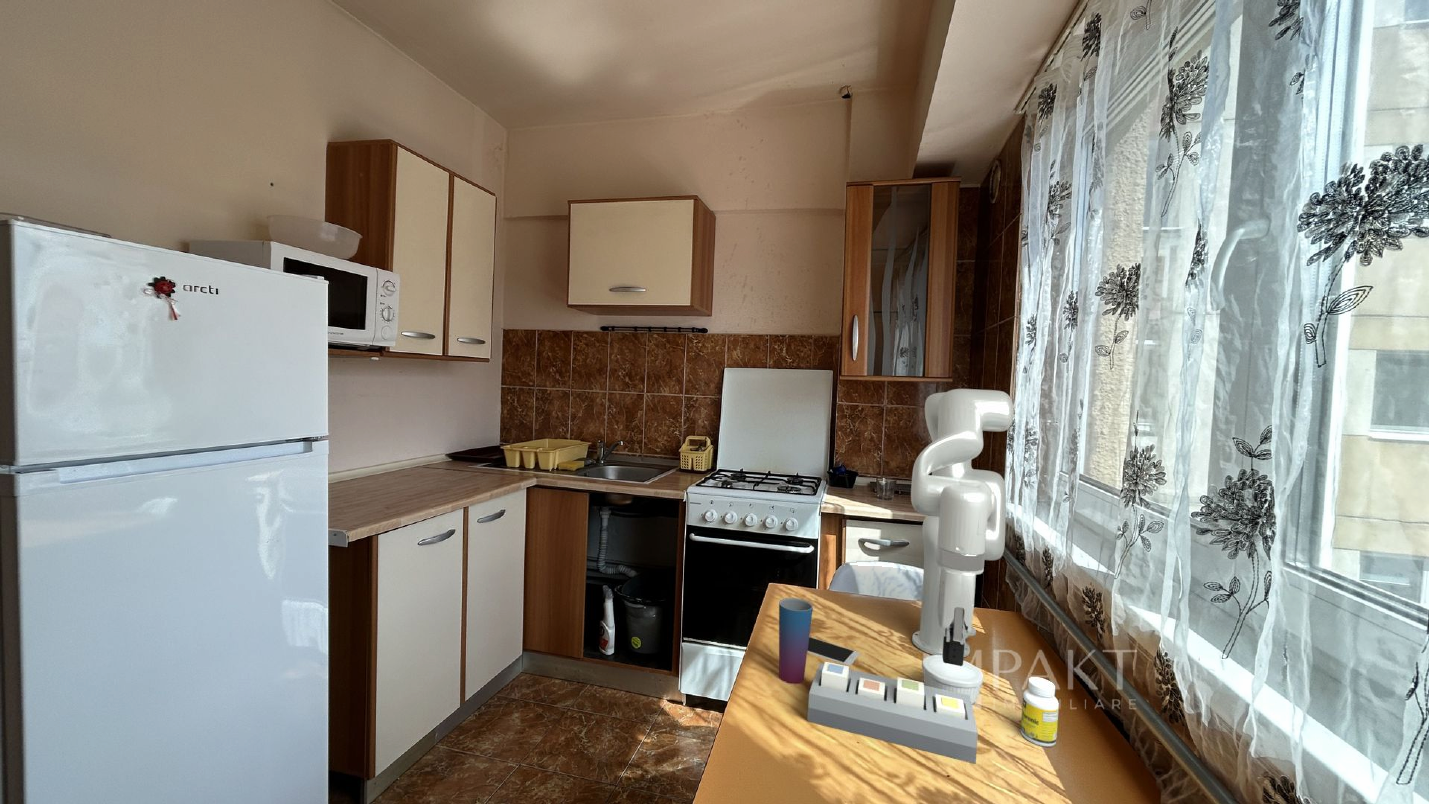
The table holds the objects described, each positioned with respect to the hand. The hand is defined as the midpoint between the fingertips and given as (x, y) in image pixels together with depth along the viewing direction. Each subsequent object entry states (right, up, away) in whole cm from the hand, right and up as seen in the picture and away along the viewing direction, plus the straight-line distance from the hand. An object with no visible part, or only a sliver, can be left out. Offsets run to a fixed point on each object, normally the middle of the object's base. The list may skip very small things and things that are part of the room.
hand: (952, 662), depth 96 cm
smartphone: (-17, -12, +30) cm, 36 cm away
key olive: (-7, -8, +1) cm, 11 cm away
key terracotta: (-13, -9, +4) cm, 16 cm away
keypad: (-10, -12, +3) cm, 16 cm away
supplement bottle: (+15, -14, +1) cm, 20 cm away
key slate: (-19, -7, +6) cm, 21 cm away
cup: (-26, -11, +16) cm, 32 cm away
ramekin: (+6, -13, +14) cm, 20 cm away
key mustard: (-1, -10, -1) cm, 10 cm away
